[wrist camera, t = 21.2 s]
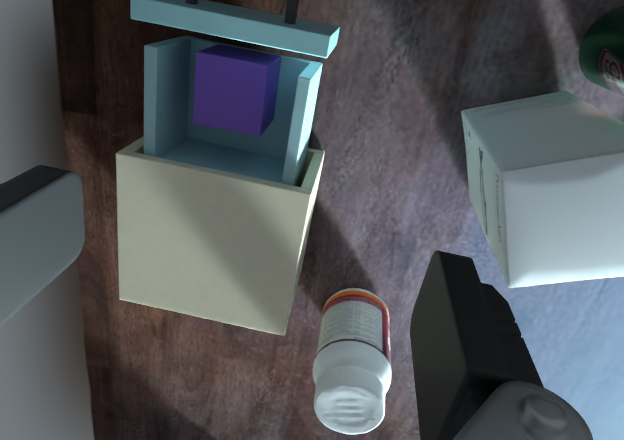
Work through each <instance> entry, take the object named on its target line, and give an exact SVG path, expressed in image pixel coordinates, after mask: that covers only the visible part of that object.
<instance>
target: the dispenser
mask: <svg viewBox="0 0 624 440" xmlns="http://www.w3.org/2000/svg"><path fill="white" fill-rule="evenodd" d="M324 154H325V151H323V150H318V149H313V148H308V149H307V155H306V160H305V166H304V169H303V172H302V174H301V177H300V179H299V182H298V184H297V187H296V186H292V185H287V184H282V183H278V182H273V181H268V180H263V179H259V178H254V177H249V176H244V175H240V174H235V173H230V172H226V171H221V170H216V169H211V168H207V167H202V166H197V165H192V164H188V163H183V162H178V161H174V160H169V159H164V158H159V157H155V156H150V155H145V154H144V136H143V137H141V138H140V139H138V140H136V141H135V142H133V143H132V144H130V145H128V146H127V147H125V148H124V149H122V150H120V151H118V152H117V153H116V184H117V225H118V266H119V299H121V300H125V301H130V302H134V303H139V304H143V305H148V306H152V307H157V308H162V309H166V310H171V311H175V312H180V313H184V314H189V315H193V316H198V317H202V318H207V319H211V320H216V321H220V322H225V323H229V324H234V325H238V326H243V327H247V328H252V329H256V330H261V331H265V332H270V333H274V334H279V335H283V336H284V335H285V331H286V327H287V324H288V320H289V316H290V313H291V309H292V305H293V301H294V297H295V294H296V290H297V286H298V282H299V279H300V275H301V271H302V266H303V261H304V256H305V251H306V246H307V240H308V235H309V230H310V225H311V220H312V215H313V210H314V205H315V200H316V195H317V189H318V184H319V179H320V174H321V169H322V164H323V159H324Z"/></svg>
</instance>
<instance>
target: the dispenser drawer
mask: <svg viewBox="0 0 624 440" xmlns="http://www.w3.org/2000/svg"><path fill="white" fill-rule="evenodd" d="M298 3H299V0H287V5H286V12H285V16H283V15H278V14H273V13H268V12H263V11H258V10H253V9H248V8H243V7H238V6H233V5H228V4H223V3H218V2H213V1H208V0H130V10H131V19H135V20H140V21H145V22H150V23H155V24H160V25H165V26H170V27H175V28H180V29H185V30H190V31H195V32H200V33H205V34H210V35H214V36H219V37H224V38H229V39H234V40H239V41H244V42H249V43H254V44H259V45H264V46H269V47H274V48H279V49H284V50H289V51H294V52H299V53H304V54H309V55H313V56H318V57H323V58H327V57H328V56H329V54H330V53H331V52H332V50H333V49H334V47H335V46H336V45H337V40H338V34H339V29H340V27H338V26H333V25H328V24H323V23H318V22H313V21H308V20H303V19H298V18H296V17H297V10H298ZM218 44H221V45H226V46H231V47H236V48H242V49H247V50H252V51H257V52H263V53H268V54H273V55H278V56H281V57H282V58H281V66H280V74H279V82H278V90H277V97H276V105H275V113H274V120H273V121H272V122H271V123H270V125H269V126H268V127H267V128H266V130H265V131H264V132H263V134H262V135H261V136H260V137H258V136H253V135H248V134H243V133H238V132H233V131H228V130H223V129H218V128H213V127H208V126H203V125H198V124H193V107H194V85H195V62H196V52H197V51H200V50H203V49H206V48H209V47H212V46H215V45H218ZM321 70H322V63H319V62H314V61H309V60H304V59H299V58H294V57H289V56H284V55H279V54H274V53H270V52H265V51H260V50H255V49H250V48H245V47H240V46H235V45H230V44H225V43H220V42H215V41H210V40H205V39H200V38H195V37H191V36H186V35H185V36H181V37H177V38H173V39H169V40H164V41H160V42H156V43H152V44H147V45H145V46H144V154H145V155H150V156H155V157H159V158H164V159H169V160H174V161H178V162H183V163H188V164H192V165H197V166H202V167H207V168H211V169H216V170H221V171H226V172H230V173H235V174H240V175H244V176H249V177H254V178H259V179H263V180H268V181H273V182H278V183H282V184H287V185H292V186H296V187H297V184H298V182H299V179H300V177H301V174H302V172H303V169H304V166H305V160H306V155H307V149H308V143H309V138H310V132H311V126H312V121H313V115H314V109H315V104H316V98H317V92H318V87H319V81H320V75H321Z"/></svg>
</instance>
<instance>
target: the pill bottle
mask: <svg viewBox="0 0 624 440" xmlns="http://www.w3.org/2000/svg"><path fill="white" fill-rule="evenodd" d="M313 380H314V383H315V385H316V389H315V397H314V411H315V414H316V416H317V417H318V419H319V420H320V421H321V422H322V423H323V424H324V425H325V426H327V427H328V428H330V429H332V430H334V431H337V432H340V433H344V434H362V433H366V432H369V431H371V430H373V429H374V428H376V427H377V426H378V425H379V424H380V423H381V421H382V420H383V417H384V414H385V394H386V392H387V391H388V389H389V386H390V382H391V360H390V329H389V313H388V309H387V307H386V305H385V303H384V302H383V301H382V300H381V299H380V298H379V297H378V296H377V295H375V294H374V293H372V292H370V291H368V290H364V289H359V288H348V289H344V290H341V291H338V292H337V293H335V294H334V295H332V296H331V297H330V298H329V299H328V300H327V302H326V304H325V306H324V309H323V313H322V319H321V325H320V331H319V337H318V343H317V349H316V355H315V359H314V365H313Z"/></svg>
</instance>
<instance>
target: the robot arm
mask: <svg viewBox="0 0 624 440" xmlns="http://www.w3.org/2000/svg"><path fill="white" fill-rule="evenodd" d="M84 240H85V225H84V209H83V193H82V182H81V179H80V177H79V175H78V174H77V173H75V172H72V171H67V170H62V169H58V168H53V167H48V166H44V165H40V166H36V167H34V168H32V169H30V170H28V171H26V172H24V173H22V174H20V175H19V176H17V177H15V178H13V179H11V180H9V181H7V182H5V183H2V184H0V327H1V326H2V325H3V324H5V323H6V322H7V321H8V320H9V319H10V318H11V317H12V316H13V315H15V314H16V313H17V312H18V311H19V310H20V309H21V308H22V307H24V305H26V304H27V303H28V302H29V301H30V300H31V299H32V298H33V297H35V296H36V295H37V294H38V293H39V292H40V291H41V290H42V289H44V288H45V287H46V286H47V285H48V284H49V283H50V282H51V281H53V280H54V279H55V278H56V277H57V276H58V275H59V274H60V273H61V272H63V271H64V270H65V269H66V268H67V267H68V266H69V265H70V264H71V263H73V262H74V261H75V260H76V259H77V257H78V256H79V254H80V252H81V250H82V248H83V244H84ZM410 338H411V348H412V358H413V368H414V378H415V388H416V398H417V408H418V418H419V428H420V438H421V440H593V438H592V434H591V432H590V429H589V427H588V426H587V424H586V422H585V421H584V419H583V418H582V417H581V416H580V414H579V413H578V412H577V411H576V410H575V409H574V408H573V407H572V406H571V405H570V404H568V403H567V402H566V401H565V400H563V399H562V398H561V397H559V396H558V395H556V394H555V393H553V392H551V391H549V390H547V389H545V388H544V387H543V384H542V382H541V380H540V377H539V375H538V372H537V370H536V368H535V365H534V363H533V361H532V358H531V356H530V354H529V351H528V349H527V346H526V344H525V342H524V339H523V338H521V332H520V330H519V327H518V325H517V323H515V318H514V316H513V313H512V311H511V309H510V306H509V304H508V302H507V301H506V300H505V299H504V298H503V297H502V295H501V294H500V293H499V292H498V291H497V290H496V289H495V288H494V287H493V286H492V285H488V284H484V283H481V282H480V279H479V276H478V274H477V271H476V268H475V265H474V262H473V260H472V258H470V257H465V256H461V255H456V254H451V253H447V252H442V251H435V252H434V254H433V256H432V258H431V260H430V263H429V266H428V269H427V272H426V274H425V277H424V280H423V283H422V286H421V289H420V292H419V295H418V298H417V300H416V303H415V306H414V310H413V314H412V319H411V326H410Z"/></svg>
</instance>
